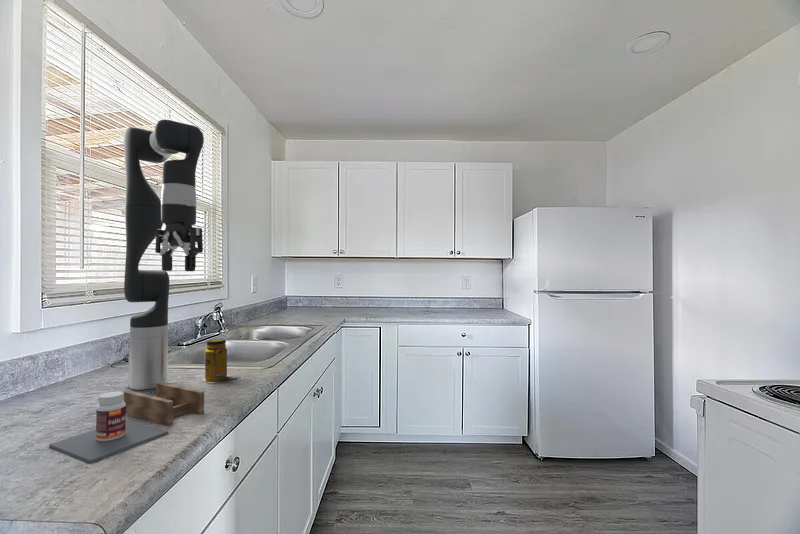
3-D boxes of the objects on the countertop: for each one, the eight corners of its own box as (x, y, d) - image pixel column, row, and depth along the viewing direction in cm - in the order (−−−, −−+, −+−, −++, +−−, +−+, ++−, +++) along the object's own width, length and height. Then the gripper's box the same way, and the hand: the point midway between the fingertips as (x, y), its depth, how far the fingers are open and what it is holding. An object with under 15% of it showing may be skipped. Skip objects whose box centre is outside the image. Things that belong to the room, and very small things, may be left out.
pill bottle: (110, 443, 76) (110, 398, 76) (89, 441, 77) (89, 397, 77) (131, 433, 81) (132, 391, 81) (111, 431, 82) (112, 390, 82)
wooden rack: (123, 413, 93) (123, 391, 93) (160, 402, 101) (160, 382, 101) (167, 425, 86) (167, 402, 86) (204, 412, 94) (204, 391, 94)
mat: (49, 446, 76) (49, 444, 76) (127, 421, 88) (127, 419, 88) (90, 463, 69) (90, 460, 69) (168, 433, 82) (168, 431, 82)
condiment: (199, 379, 122) (200, 340, 122) (226, 374, 128) (227, 336, 128) (210, 384, 117) (211, 343, 117) (238, 378, 123) (238, 339, 124)
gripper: (145, 204, 98) (144, 271, 97) (184, 200, 91) (183, 271, 91) (174, 208, 104) (174, 270, 104) (212, 205, 98) (211, 271, 98)
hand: (178, 271), depth 98 cm, fingers open, 8 cm apart
